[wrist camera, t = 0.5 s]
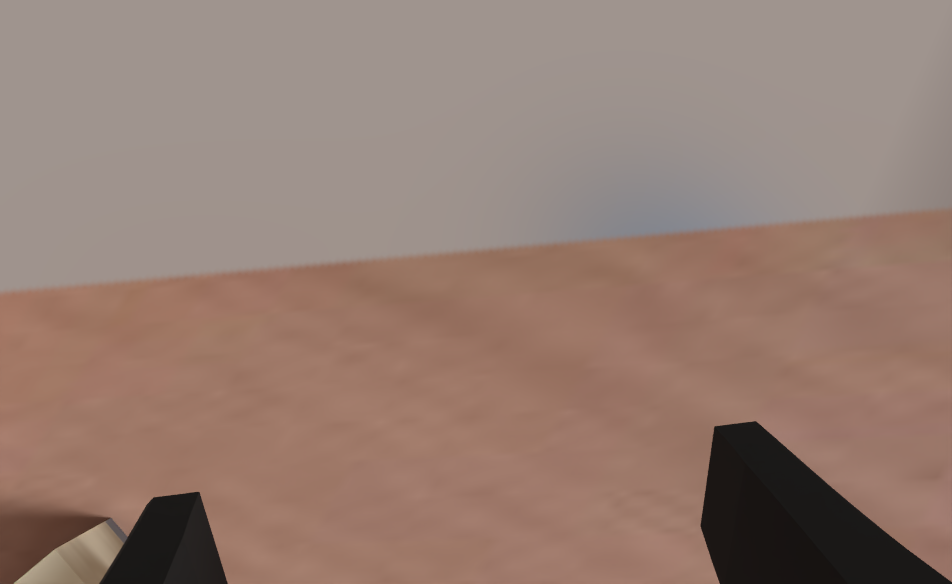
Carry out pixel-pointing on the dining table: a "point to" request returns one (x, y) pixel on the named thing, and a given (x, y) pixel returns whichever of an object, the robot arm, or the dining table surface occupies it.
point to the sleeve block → (79, 558)
